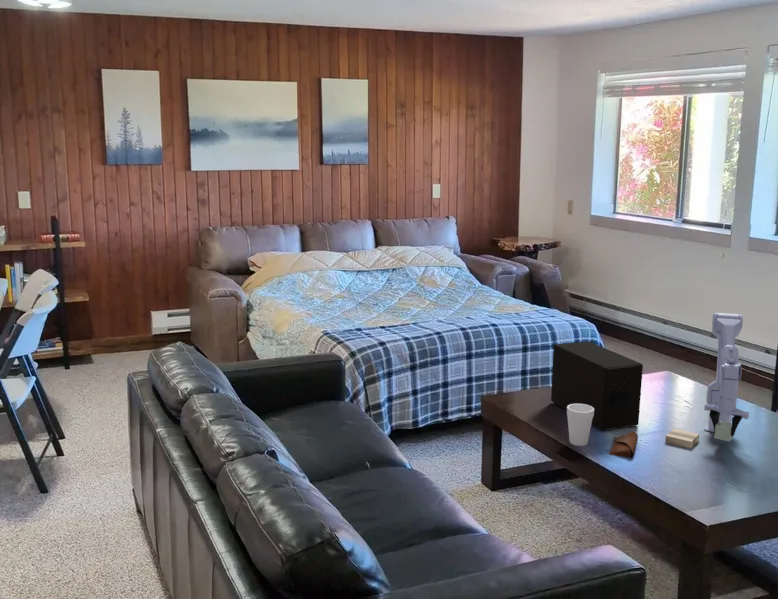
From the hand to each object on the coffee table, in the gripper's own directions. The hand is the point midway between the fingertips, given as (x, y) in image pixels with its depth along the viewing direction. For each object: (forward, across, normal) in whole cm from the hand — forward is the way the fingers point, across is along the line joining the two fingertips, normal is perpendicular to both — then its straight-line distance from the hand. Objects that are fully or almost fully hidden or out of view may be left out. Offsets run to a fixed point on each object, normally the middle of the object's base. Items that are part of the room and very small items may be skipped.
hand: (724, 433), depth 280 cm
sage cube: (+2, 0, 0) cm, 2 cm away
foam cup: (+5, -42, -28) cm, 51 cm away
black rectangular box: (+6, -48, +2) cm, 48 cm away
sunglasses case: (+6, -28, -22) cm, 36 cm away
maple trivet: (+6, -13, -4) cm, 15 cm away
